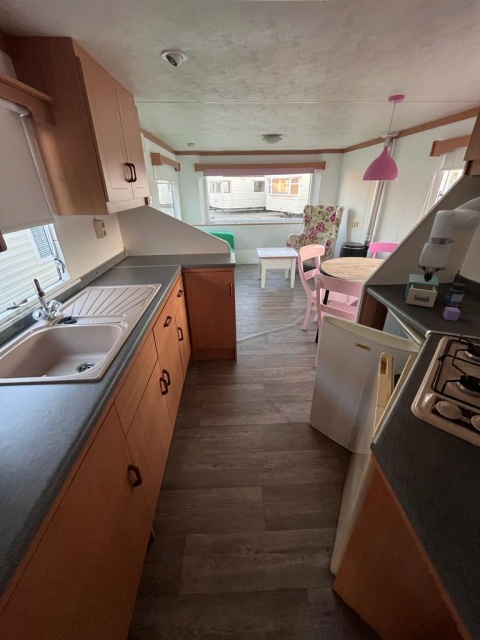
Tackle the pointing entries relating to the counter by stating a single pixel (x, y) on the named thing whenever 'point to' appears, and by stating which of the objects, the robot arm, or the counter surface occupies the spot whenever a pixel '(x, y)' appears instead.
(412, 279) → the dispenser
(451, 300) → the pill bottle
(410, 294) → the drawer
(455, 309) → the purple cube
